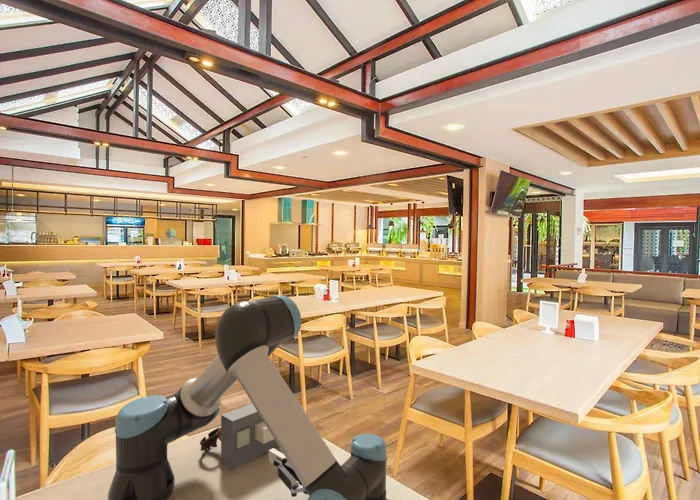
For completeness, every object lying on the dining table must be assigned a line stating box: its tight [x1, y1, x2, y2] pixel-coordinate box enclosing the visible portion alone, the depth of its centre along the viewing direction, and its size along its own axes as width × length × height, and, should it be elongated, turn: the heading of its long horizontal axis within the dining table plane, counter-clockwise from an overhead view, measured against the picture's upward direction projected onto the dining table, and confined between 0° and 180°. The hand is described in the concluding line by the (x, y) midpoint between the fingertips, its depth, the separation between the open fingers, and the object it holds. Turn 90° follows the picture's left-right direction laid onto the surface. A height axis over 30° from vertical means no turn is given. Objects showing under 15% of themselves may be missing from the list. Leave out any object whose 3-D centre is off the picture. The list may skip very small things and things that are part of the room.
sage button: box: [236, 427, 250, 449], centre depth 115 cm, size 4×5×4 cm
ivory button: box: [255, 420, 274, 444], centre depth 118 cm, size 4×5×4 cm
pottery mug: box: [199, 426, 221, 453], centre depth 121 cm, size 12×10×8 cm
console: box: [220, 402, 280, 470], centre depth 121 cm, size 20×6×14 cm, turn 139°
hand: (270, 454), depth 105 cm, fingers closed
